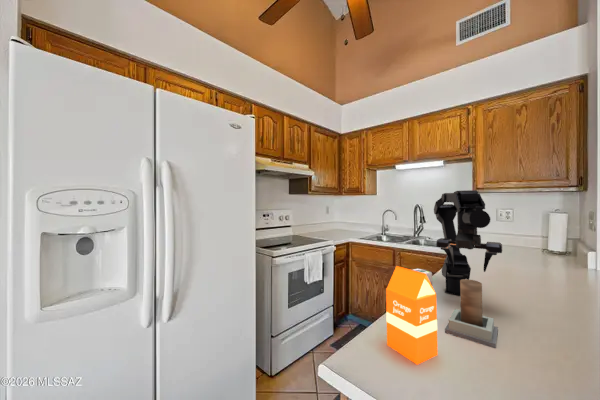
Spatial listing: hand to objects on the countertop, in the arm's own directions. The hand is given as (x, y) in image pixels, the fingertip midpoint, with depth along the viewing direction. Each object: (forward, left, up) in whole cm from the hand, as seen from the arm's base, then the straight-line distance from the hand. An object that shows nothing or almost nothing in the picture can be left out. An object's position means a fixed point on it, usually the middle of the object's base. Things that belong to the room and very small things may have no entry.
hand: (468, 269), depth 84 cm
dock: (+3, -20, -13) cm, 24 cm away
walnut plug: (+3, -20, -12) cm, 24 cm away
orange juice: (-7, -40, -13) cm, 43 cm away
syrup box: (-11, -19, -13) cm, 26 cm away
